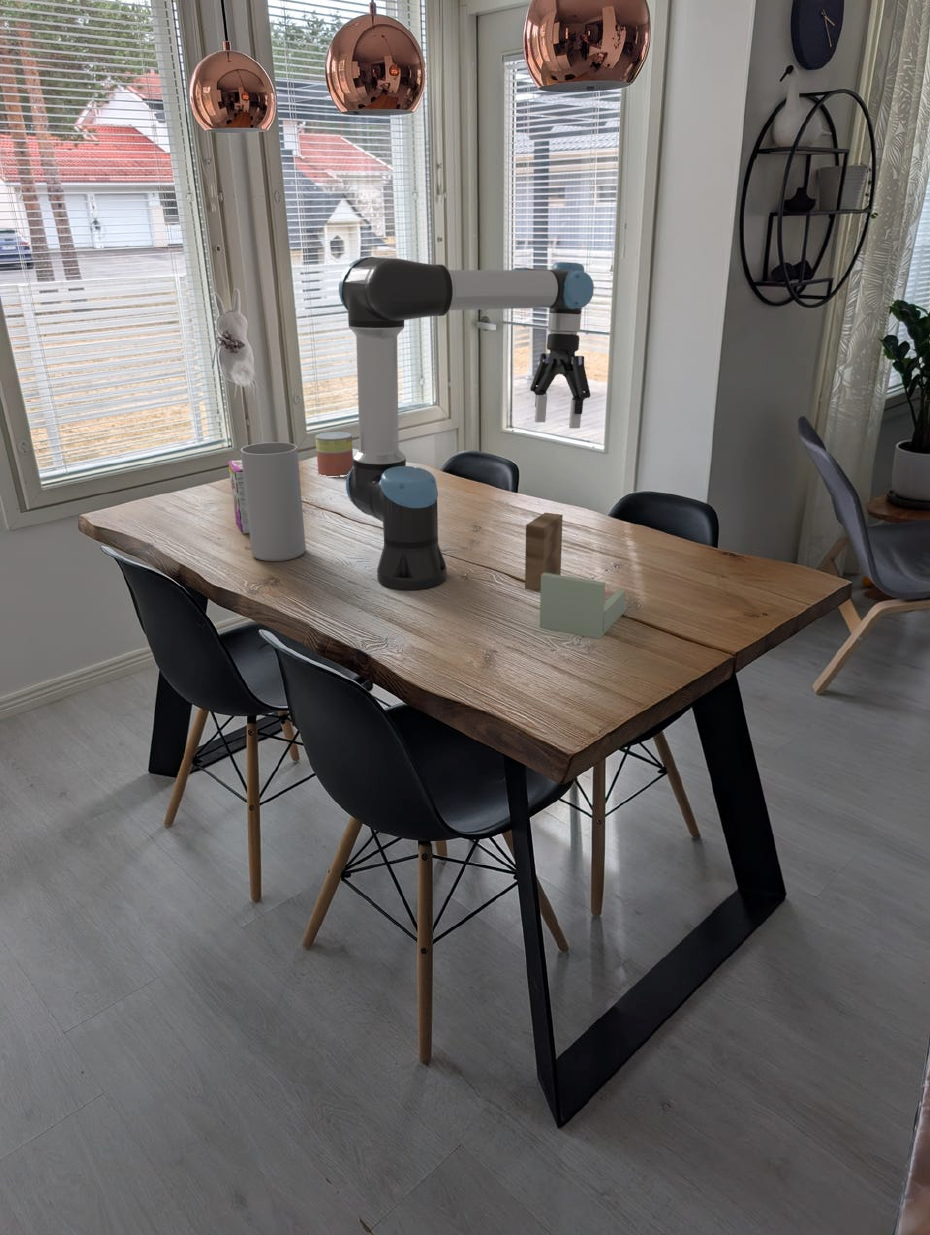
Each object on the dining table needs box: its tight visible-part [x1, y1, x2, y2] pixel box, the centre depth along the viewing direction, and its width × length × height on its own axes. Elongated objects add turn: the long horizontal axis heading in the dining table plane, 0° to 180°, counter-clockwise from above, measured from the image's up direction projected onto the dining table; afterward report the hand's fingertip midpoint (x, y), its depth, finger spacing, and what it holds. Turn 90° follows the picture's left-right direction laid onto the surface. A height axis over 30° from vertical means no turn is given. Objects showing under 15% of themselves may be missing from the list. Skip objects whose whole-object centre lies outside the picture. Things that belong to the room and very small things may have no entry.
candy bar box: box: [228, 459, 250, 535], centre depth 229 cm, size 11×5×16 cm, turn 22°
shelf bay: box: [539, 573, 628, 640], centre depth 174 cm, size 16×12×11 cm
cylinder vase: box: [240, 441, 307, 562], centre depth 209 cm, size 12×12×25 cm
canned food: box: [314, 431, 354, 476], centre depth 282 cm, size 11×11×12 cm
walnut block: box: [524, 512, 564, 592], centre depth 191 cm, size 10×4×14 cm, turn 152°
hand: (556, 425), depth 219 cm, fingers open, 13 cm apart
